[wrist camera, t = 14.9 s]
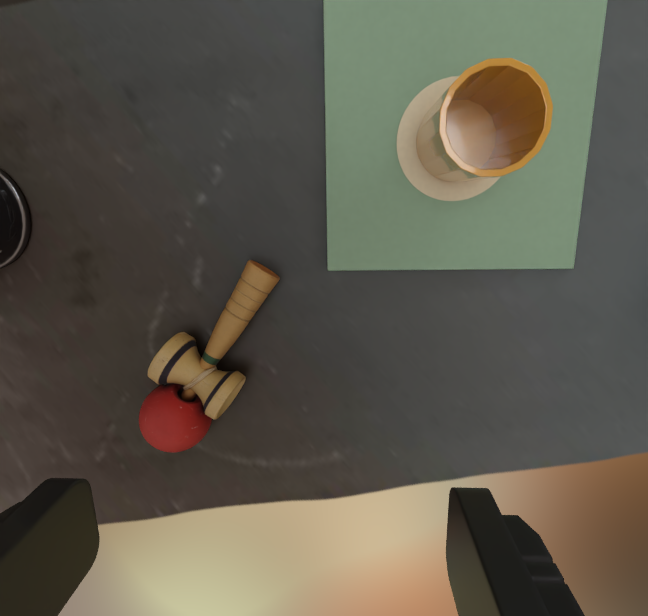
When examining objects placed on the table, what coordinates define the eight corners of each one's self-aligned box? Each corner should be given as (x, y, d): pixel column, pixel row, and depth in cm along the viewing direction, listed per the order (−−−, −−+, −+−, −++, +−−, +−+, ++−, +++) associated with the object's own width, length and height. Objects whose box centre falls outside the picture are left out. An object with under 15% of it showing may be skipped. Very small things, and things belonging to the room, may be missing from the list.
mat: (327, 269, 36) (327, 270, 36) (323, 0, 31) (323, -4, 31) (571, 268, 35) (574, 268, 35) (606, -14, 30) (610, -17, 30)
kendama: (222, 239, 38) (125, 409, 39) (217, 245, 31) (103, 445, 33) (298, 283, 40) (202, 442, 41) (307, 296, 33) (194, 483, 35)
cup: (414, 183, 34) (436, 177, 25) (417, 97, 32) (442, 60, 24) (494, 181, 33) (546, 175, 25) (501, 94, 32) (558, 55, 23)
